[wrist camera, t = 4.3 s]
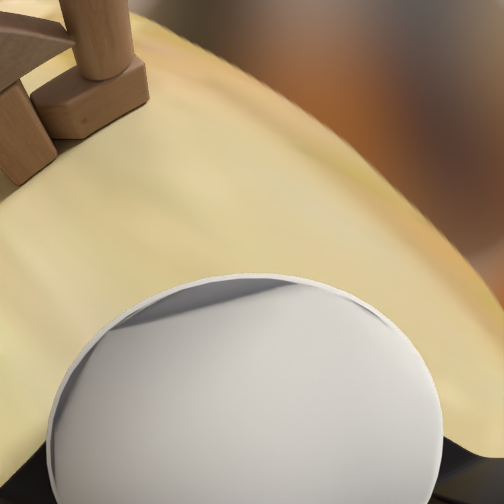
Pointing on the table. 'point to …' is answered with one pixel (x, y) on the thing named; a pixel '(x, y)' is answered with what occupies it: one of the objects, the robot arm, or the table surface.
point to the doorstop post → (246, 402)
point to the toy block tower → (65, 80)
